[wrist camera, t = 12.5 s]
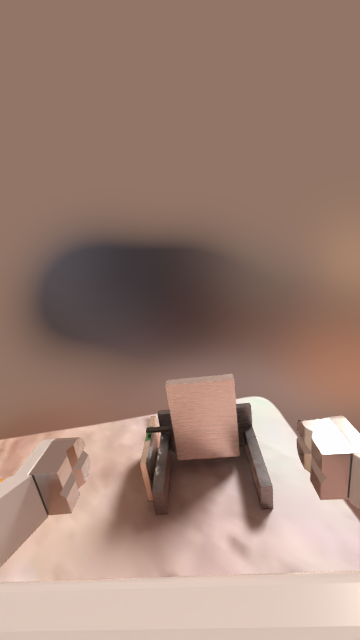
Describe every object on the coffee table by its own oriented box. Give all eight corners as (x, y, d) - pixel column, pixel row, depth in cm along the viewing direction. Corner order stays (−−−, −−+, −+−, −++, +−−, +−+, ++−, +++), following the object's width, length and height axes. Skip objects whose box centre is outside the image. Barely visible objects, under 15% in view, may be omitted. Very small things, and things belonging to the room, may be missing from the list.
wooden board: (151, 462, 40) (136, 388, 36) (153, 454, 42) (138, 382, 38) (239, 456, 39) (234, 379, 35) (238, 448, 41) (232, 373, 37)
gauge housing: (144, 515, 34) (134, 470, 32) (156, 447, 46) (148, 411, 43) (273, 508, 33) (271, 461, 31) (251, 440, 44) (249, 403, 42)
